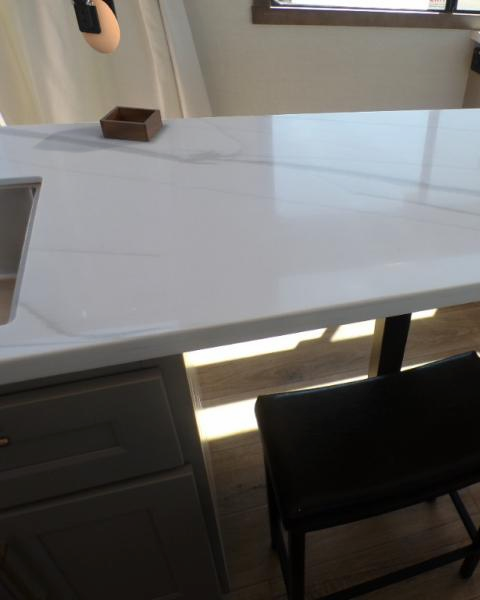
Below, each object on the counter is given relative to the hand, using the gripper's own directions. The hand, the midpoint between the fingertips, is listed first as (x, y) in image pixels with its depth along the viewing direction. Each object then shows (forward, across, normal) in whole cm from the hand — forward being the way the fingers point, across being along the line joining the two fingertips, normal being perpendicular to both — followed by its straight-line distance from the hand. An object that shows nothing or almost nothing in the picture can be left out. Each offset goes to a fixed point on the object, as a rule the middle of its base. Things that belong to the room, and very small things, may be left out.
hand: (99, 27), depth 86 cm
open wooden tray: (+20, -7, -1) cm, 21 cm away
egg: (+4, 0, 0) cm, 4 cm away
